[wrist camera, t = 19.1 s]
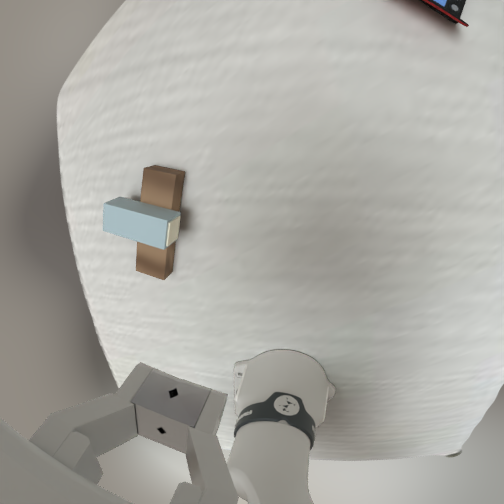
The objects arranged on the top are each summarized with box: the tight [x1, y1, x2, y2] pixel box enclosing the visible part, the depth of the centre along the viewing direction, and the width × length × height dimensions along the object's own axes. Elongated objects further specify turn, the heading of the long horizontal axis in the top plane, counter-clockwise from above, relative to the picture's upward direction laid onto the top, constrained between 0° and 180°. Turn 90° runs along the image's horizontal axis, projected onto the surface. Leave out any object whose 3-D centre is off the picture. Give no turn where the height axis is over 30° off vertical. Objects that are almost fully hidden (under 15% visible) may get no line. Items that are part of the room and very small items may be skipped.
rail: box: [136, 165, 185, 280], centre depth 44 cm, size 16×5×3 cm, turn 168°
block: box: [103, 197, 181, 250], centre depth 41 cm, size 4×4×10 cm
